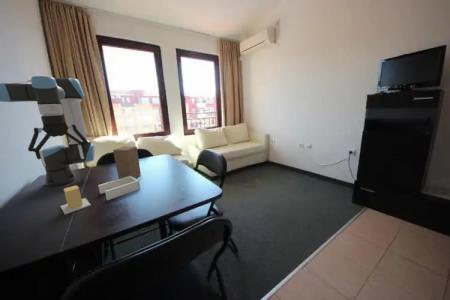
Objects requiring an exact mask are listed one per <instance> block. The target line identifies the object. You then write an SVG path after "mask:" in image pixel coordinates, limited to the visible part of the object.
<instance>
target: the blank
mask: <svg viewBox="0 0 450 300" xmlns="http://www.w3.org/2000/svg"><path fill="white" fill-rule="evenodd" d="M63 192H64V196H65V199H66V204H68V207H69V208H70V209H73V208H76V207H79V206H82V205H83V203H82V199H83V198H82V196H81V191H80V187H79V186H78V185H73V186H70V187H69V186H68V187H65V188H63Z"/></svg>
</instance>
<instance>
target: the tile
mask: <svg viewBox="0 0 450 300" xmlns="http://www.w3.org/2000/svg"><path fill="white" fill-rule="evenodd" d="M82 203H83V205H82V206H79V207H76V208H73V209H70V208H69V207H68V204H67V203H65V204H63V205H60V208H61V210H62V212H63V214H64V215H67V214H70V213H73V212H76V211H78V210H81V209H85V208H87V207H90V206H92V205H91V203H90V202H89V200H88V199H87V198H86V197H84V198H82Z"/></svg>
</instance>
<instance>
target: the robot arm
mask: <svg viewBox="0 0 450 300" xmlns="http://www.w3.org/2000/svg"><path fill="white" fill-rule="evenodd" d="M83 98H85V94H84V90H83V87H82V85H81V83H80V80H79V79H77V78H74V77H73V78H71V77H53V76H44V75H35V76H31V78H30V79H28V80H27V81H23V82H12V83H10V82H9V83H7V82H5V83H4V82H2V83H0V102H1V103H2V102H3V103H7V102H8V103H16V102H17V103H18V102H19V103H20V102H22V103H23V102H36V103H37V107H38V111H39V114H40V115H41V116H40V118H41V122H42V127H34V128H33V134H32V138H31V141H30V143H29V145H28V149H27V151H28V152H34V154H35V157H36V158H37V160H40V161H41V164H42V166H43V168H44V170H45V178H44V184H45V186H46V187H58V186H62V185H63V186H64V185H66V184H70V183H73V182H74V181H76V179H77V177H76V174H75V173H74V170H72V168H71V167H70V166H71V165H76V164H83V163H90V162H92V161H95V145H94V143H91V140H88V136H87V131H86V128H85V121H84V117H83V112H82V106H81V103H82V101H83ZM62 105H63V106H62ZM63 109H64V110H63ZM42 131H43V132H44V133H46V134H45V135H44V137H43V138H42V139H41V141H40V142H39V143H38V144H37V146H36V147H35V145H36V142H37V140H38V138H39V134H40V133H42ZM64 136H67V137H68V138H70V142H68V146H66V145H65V144H59V145H54V146H49V147H46V148H43V147H44V146H45V145H46V142H48V141H49V139H50V138H51V137H53V138H56V137H64ZM34 147H35V148H34ZM42 148H43V149H42ZM41 149H42V150H41Z"/></svg>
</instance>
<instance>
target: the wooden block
mask: <svg viewBox="0 0 450 300" xmlns="http://www.w3.org/2000/svg"><path fill="white" fill-rule="evenodd" d="M112 151H113V156H114V162H115V168H116V172H117V177H118V178H117V180H118V179H121V178H124V177H128V176H131V177H133V178H135V179H136V178H137V177H138V176H141V173H142V172H141V166H140V160H139V154H138V153H139V151H138V147H137V146H125V145H123V146H121V147H118V148H115V149H113V150H112Z"/></svg>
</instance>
